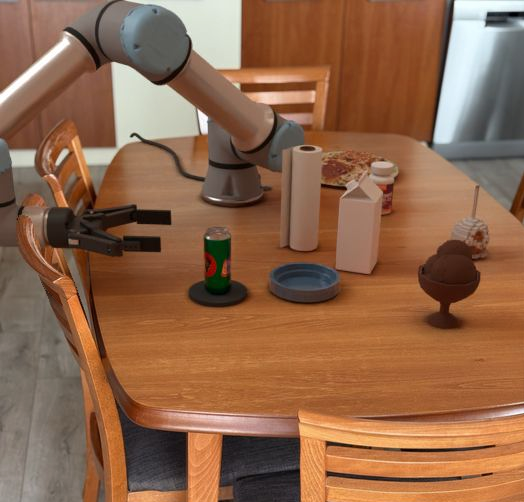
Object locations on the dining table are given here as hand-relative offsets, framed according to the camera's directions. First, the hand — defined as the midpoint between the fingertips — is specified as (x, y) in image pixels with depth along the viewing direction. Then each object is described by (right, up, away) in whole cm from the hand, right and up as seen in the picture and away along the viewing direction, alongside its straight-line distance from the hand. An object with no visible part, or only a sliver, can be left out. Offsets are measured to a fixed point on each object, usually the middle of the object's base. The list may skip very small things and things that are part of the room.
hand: (166, 230), depth 156 cm
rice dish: (+40, +25, +74) cm, 88 cm away
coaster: (+9, -11, +6) cm, 16 cm away
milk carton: (+37, -5, +19) cm, 41 cm away
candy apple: (+61, -2, +25) cm, 66 cm away
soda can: (+9, -11, +5) cm, 15 cm away
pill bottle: (+45, +11, +48) cm, 67 cm away
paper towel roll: (+26, 0, +28) cm, 38 cm away
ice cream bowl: (+50, -17, -3) cm, 53 cm away
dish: (+26, -10, +8) cm, 29 cm away
